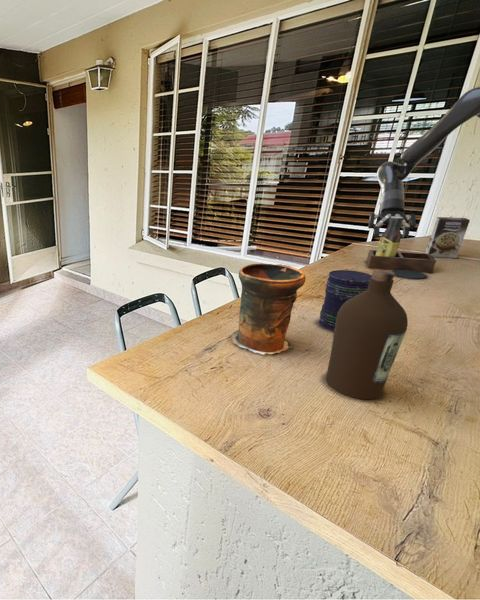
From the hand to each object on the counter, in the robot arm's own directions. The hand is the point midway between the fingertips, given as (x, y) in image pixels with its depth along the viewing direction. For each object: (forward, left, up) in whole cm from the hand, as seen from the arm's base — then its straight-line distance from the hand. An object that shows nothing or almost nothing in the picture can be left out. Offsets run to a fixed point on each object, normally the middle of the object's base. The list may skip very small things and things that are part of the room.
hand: (391, 236), depth 138 cm
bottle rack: (-4, -1, -12) cm, 13 cm away
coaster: (-6, +10, -12) cm, 17 cm away
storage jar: (+16, +70, -12) cm, 73 cm away
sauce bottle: (0, -1, -12) cm, 12 cm away
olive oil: (+14, +101, -12) cm, 103 cm away
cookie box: (-21, -26, -12) cm, 36 cm away
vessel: (+33, +90, -12) cm, 97 cm away
